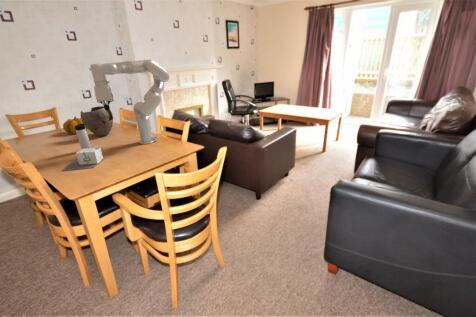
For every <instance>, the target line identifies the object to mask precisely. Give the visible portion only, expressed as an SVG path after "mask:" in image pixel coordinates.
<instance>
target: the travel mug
mask: <svg viewBox="0 0 476 317" xmlns="http://www.w3.org/2000/svg"><path fill="white" fill-rule="evenodd" d="M75 129H76V133H77V134H76V136H77V139H78V142H79V145H80V150H81V149H85V148H92V146H91V143H90V138H89V135H88V133H87V130H86V128H85V124H79V125H76V126H75Z"/></svg>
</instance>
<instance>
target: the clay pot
mask: <svg viewBox="0 0 476 317" xmlns="http://www.w3.org/2000/svg"><path fill="white" fill-rule="evenodd" d="M80 118H81V119H82V122H83V124H85V126H86V127H87V128H88V129H87V130H89V131H90V132H91V133H93V134H94V135H96V136H98V137H103V136H106V135H108V134H110V133H111V131H112V129H113V123H114V114H113V112H112V110H111V108H110V109H109V111H106V110H105V108H104V105H101V106H99V105H98V106H93V107H91V108H90V111H82V110H80Z"/></svg>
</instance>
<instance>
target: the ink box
mask: <svg viewBox="0 0 476 317" xmlns="http://www.w3.org/2000/svg"><path fill="white" fill-rule="evenodd" d="M75 155H76V159H78V162H79V164H80V165H85V164H97V165H98V164H99V163H101V161H103V160H104V156H103V152H102V149H101V147H99V146H98V147H91V148H85V149H81V148H80V150H78V151H77V152H76V153H75Z"/></svg>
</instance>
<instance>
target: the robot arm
mask: <svg viewBox="0 0 476 317" xmlns="http://www.w3.org/2000/svg"><path fill="white" fill-rule="evenodd" d="M89 67H90V70H91V75H92V80H93V82H94V87H93V88H94V95H95V99H96V102H97V104H101V105H102V106H104V108H105V110H106V111H109V109H110V110H111V107H110V104H111V103H113V102H114V101H115V100H114V94H113V91H112V88H111V86H110V81H109V80H107V75H109V76H113V75H117V74H118V75H119V74H130V75H132V74H133V75H134V74H144V73H150V74H151V75H152V78H153V84H152V86H151V87H150V88H149V89H148V90H147V92H146V93H145V94H144V95H143V101H144V102H142V101H138V102H136V103H134V105H133V112H134V116H135V119H136V123H137V127H138V133H139V134H138V135H139V137H140V139H139V141H138V143H139V144H142V145H149V144H153V143H154V142H156V140H159V139H160V137H159V136H157V135H154V134H153V130H152V124H151V119H150V116H151V115H152V114H153V112H155V110H156V109H157V107H158V106H159V105H160V104H161V101H162V97H161V95H162V93H163V92H164V91H165V83H166V82H169V80H170V74H169V72H168V71H167V70H165V69H164V68H163V67H162V66H161V65H160V64H158V62H156V61H154V60H152V59H143V60H126V61H121V62H120V61H119V62H105V63H92V64H90V66H89Z"/></svg>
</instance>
